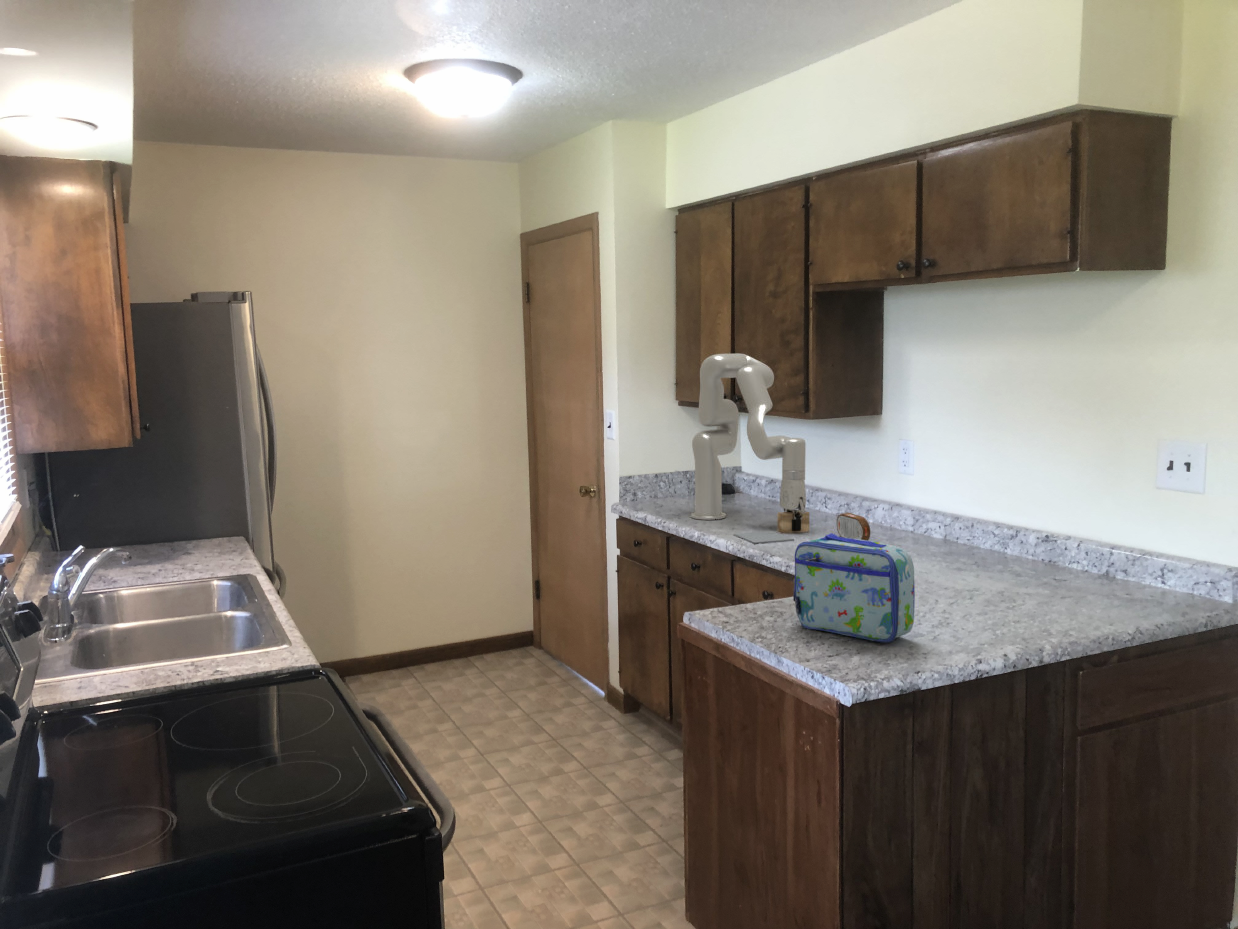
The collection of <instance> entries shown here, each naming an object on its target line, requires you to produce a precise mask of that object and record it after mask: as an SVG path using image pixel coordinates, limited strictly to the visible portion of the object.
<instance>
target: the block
mask: <svg viewBox="0 0 1238 929" xmlns="http://www.w3.org/2000/svg"><path fill="white" fill-rule="evenodd" d="M796 514H797V512H796ZM776 516H777V518H776V519H777V522H776V526H777V528H776V529H777V533H779V532H780V534H782V535H784V534H783V533H785V534H795V532H796V533H805V532H810V512H809V511H806V510H805V513H804V514H803V515H802V519H801V531H792V519H793V512H784V511H782V512H777V515H776Z"/></svg>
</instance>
